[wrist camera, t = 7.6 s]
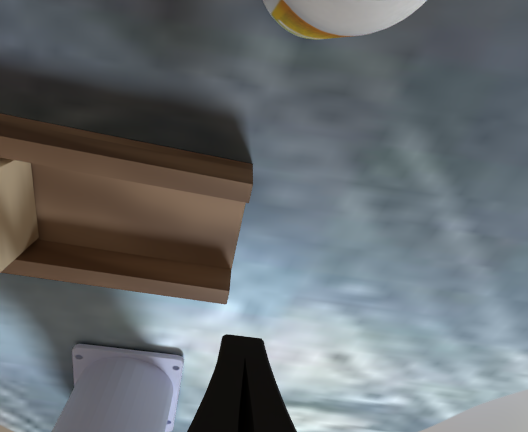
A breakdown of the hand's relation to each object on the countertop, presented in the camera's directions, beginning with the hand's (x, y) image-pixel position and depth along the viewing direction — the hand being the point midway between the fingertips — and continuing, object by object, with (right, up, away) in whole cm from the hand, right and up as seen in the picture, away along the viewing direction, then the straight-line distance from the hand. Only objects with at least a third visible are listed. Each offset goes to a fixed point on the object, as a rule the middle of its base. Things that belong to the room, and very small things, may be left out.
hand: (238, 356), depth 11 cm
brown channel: (-9, +6, +7) cm, 13 cm away
